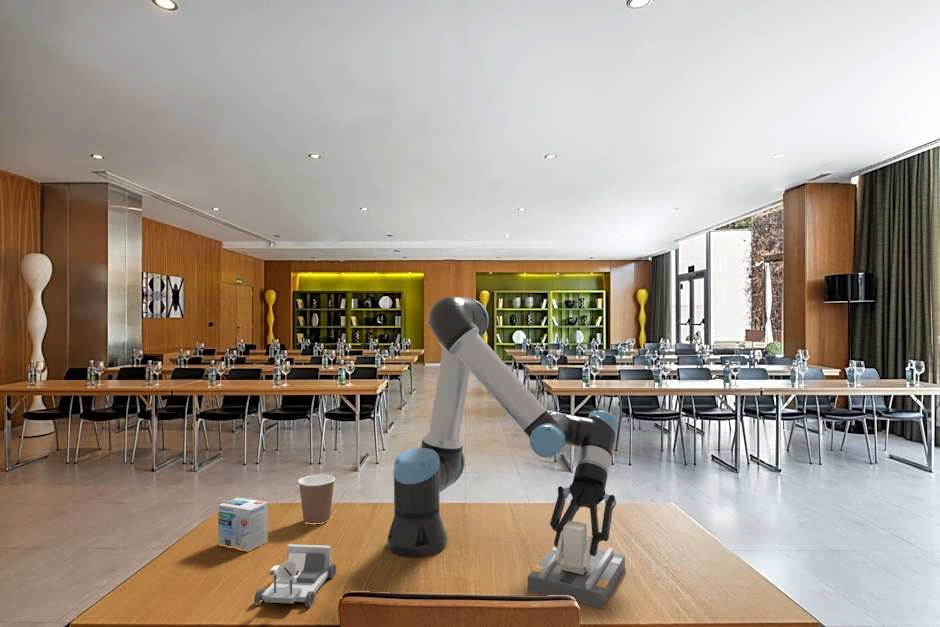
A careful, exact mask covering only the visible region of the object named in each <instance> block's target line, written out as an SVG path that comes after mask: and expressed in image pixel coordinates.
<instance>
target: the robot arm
mask: <svg viewBox="0 0 940 627" xmlns="http://www.w3.org/2000/svg"><path fill="white" fill-rule="evenodd" d="M489 319H490V318H489V313H488V311H487V308H485V306H484V304H482V303H481V302H480V301H478V300H476V299H474V298H470V297H461V296H454V295H453V296H452V295H451V296H445V297H442V298H440V299H438V300H437V301H436V302H435V303H434V304H433V306H432V307H431V309H430V312H429V316H428V322H429V326H430V330H431V331H432V334H433V335H434V337H435V338H436V339H437V340H438V345H439V346H440V347H441V349H442V352H441V357H440V364H439V370H438V375H437V382H436V387H435V388H436V389H435V392H434V393H435V394H434V400H433V405H432V412H431V418H430V423H429V431H428V433H426V434H425V435H423V436H422V439H421V445H420V446H421V447H419V448H412V449H408V450H405V451H402V452H401V453H400V454H398V455H397V456H396V458H395V459H394V467H393V471H392V472H393V502H394V503H393V506H394V507H393V508H394V509H393V510H394V512H393V513H394V515H393V518H392V522H391V525H390V528H389V531H388V535H387V539H386V541H387V549H388V551H390V552H391V553H392V554H394V555H397V556H401V557H406V558H421V557H427V556H432V555H435V554H437V553H440V552H441V551H442V550H444V549H446V546H447V532H446V531H445V527H444V524H443V520H442V517H441V513H440V493H441V492H443V491H444V490H445V489H447V488H448V487H450V486H452V485H453V484H455V483H456V482H457V481H458V480H459V478H461V475H462V474H463V472H464V469H465V464H466V458H465V454H464V453H463V447H464V442H463V440H462V439H461V438H460V434H461V433H460V432H461V427H462V422H463V415H464V409H465V402H466V397H467V393H468V392H467V391H468V385H469V379H470V375H471V374H473V375H474V377H475V378H476V379H477V380H478V381H479V382H480V384H481V385H482V386H484V388H485V389H486V390H487V391H488V392H489V394H490V395H491V396H492V397H493V398H494V399H495V400H496V402H497V403H498V404H499V405H500V406H501V407H502V408H503V410H505V412H506V413H507V414H508V415H509V416H510V418H512V420H513V421H514V422H515V424H516V425H517V426H518V427H519V428H520V429H521V430H522V431H523V433H524V434H525V435H526V436H527V437H528V438H529V444H530V445H529V446H530V447H531V450H532V451H533V453H535V454H536V455H537V456H539V457H541V458H545V459H546V458H552V457H554V456H556V455H558V454H559V453H561V452H562V451H563V449H564V448H565V446H566V445H568V446H572V447H579V448H580V451H579V455H578V459H577V462H576V467H575V471H574V475H573V479H572V483H571V484H570V485H569V487H563V486H561V485H560V486H558V487H557V495H558V496H557V498H556V502H555V506H554V507H553V508H554V509H553V511H552V516H551V520H550V523H549V524H550V527H551V529H552V531H554V532H555V533H556V534H555V537H554V541H553V545H554V546H555V547H556V548H557V550H556V554H555V558H554V560H555V562H556V564H557V565H559V566H560V565H561V561H562V557H563V552H564V546H563V527H564V526H565V525H566V524H567V522H568V521H573V519H574V517H575V516H576V513H577V512H578V511H579V510H580V508H587V509H589V511H590V512H589V514H590V524H591V525H590V526H591V536H589V535H588V536H587V545H586V550H585V555H584V560H583V565H582V567H583V569H584V571H585V572H588V571H589V566H590V561H591V556H596V554H597V550H599V549H598V548H599V543H600V542H603V541H604V542H608V541H609V538H610V532H611V525H612V524H611V523H612V518H613V517H612V516H613V510H614V508H615V507H616V505H617V500H616V497H615V495H614V494H611V495H610V494H608V493H606V487H607V481H608V473H609V470H610V466H611V460H612V454H613V451H614V450H613V449H614V446H615V445H614V444H615V440H616V434H617V428H618V423H617V418H615V416H614V415H613V414H612V413H609V412H608V411H605V410H602V409H601V410H593V411H591V412H590V413H589V414H588V416H587V417H583V416H578V415H573V414H568V413H562V412H559V411H557V410H547V409H546V408H545V406H544V405H543V404H542V403H541V402H540V401H539V400H538V399H537V398H536V396H534V394H533V393H532V392H531V391H530V390H529V389H528V388H527V386H526V385H525V384H524V383H523V382H522V380H520V378H519V377H518V376H517V375H516V374H515V373H514V372H513V370H512V369H510V367H509V366H508V365H507V364H506V363H505V362H504V361H503V360H502V359H501V357H500V356H499V355H498V354H497V353H496V352H495V351H494V350H493V349H492V347H491V346H490V345H489V344H488V343H487V342H486V341H485V340H484V339H483V337H482V336H483V335H484V334H485V333H486V331H487V330H488V327H489V323H490V322H489ZM470 373H471V374H470ZM569 494H570V495H571V497H572V498H571V499H570V502H569V505H568V507H567V509H566V511H565V512H564V511H563V510H564V508H565V504H566V499H568V496H569ZM603 500H604V503H605V504H604V510H603V512H604V513H603V518H602V526H601V531H600V529H599V528H600V526H599V518H598V517H599V516H598V505H599V504H600V503H601V502H603ZM563 512H564V514H563ZM562 514H563V515H562Z"/></svg>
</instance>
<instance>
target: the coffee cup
mask: <svg viewBox="0 0 940 627" xmlns="http://www.w3.org/2000/svg"><path fill="white" fill-rule="evenodd" d="M335 480H336V478H335V476H333V475H330V474H311V475H307V476H304V477H301V478H299V479H298V480H297V483H298V484H299V494H300V500H301V511H302V519H303V522H304V521H305V522H308V523H322V522H325V521H327V520H328V519H329V520H330V517H331V511H332V501H333V492H334V483H335V482H334V481H335Z"/></svg>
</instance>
